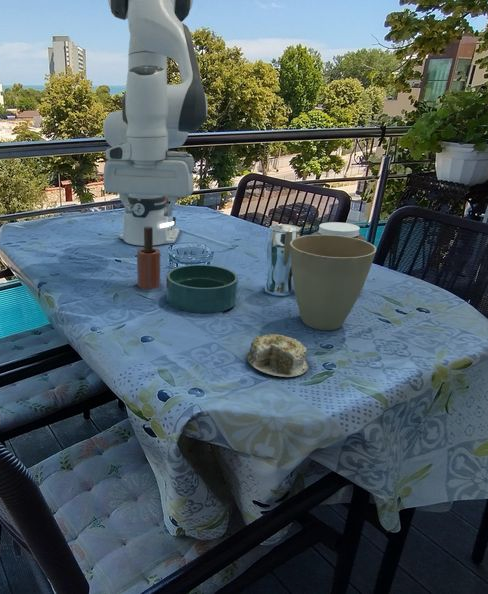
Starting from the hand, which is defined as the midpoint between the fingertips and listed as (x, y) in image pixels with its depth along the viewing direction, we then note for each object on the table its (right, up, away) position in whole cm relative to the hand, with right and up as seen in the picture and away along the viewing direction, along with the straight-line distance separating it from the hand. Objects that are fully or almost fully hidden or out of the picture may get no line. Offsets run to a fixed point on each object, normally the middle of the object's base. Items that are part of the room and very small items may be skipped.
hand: (148, 214), depth 104 cm
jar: (+42, -17, +3) cm, 46 cm away
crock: (0, -16, +6) cm, 18 cm away
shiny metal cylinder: (+30, -17, +3) cm, 35 cm away
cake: (+21, -30, -26) cm, 45 cm away
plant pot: (+34, -24, -12) cm, 43 cm away
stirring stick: (0, -16, +6) cm, 17 cm away
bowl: (+12, -20, -2) cm, 23 cm away
